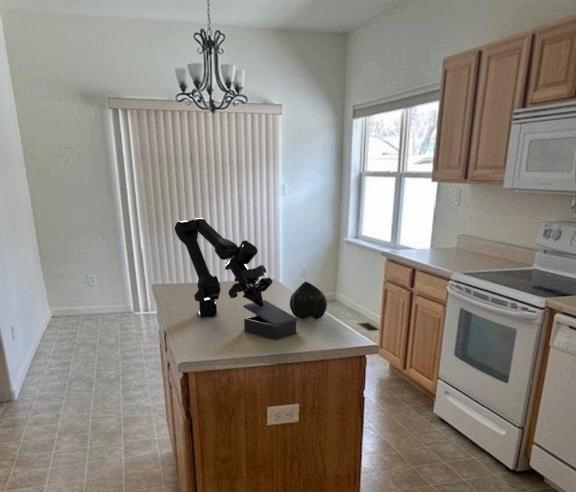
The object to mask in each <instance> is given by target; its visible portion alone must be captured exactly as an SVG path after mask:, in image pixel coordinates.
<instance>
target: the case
mask: <svg viewBox="0 0 576 492" xmlns="http://www.w3.org/2000/svg"><path fill="white" fill-rule="evenodd" d="M265 322H267V321H266V320H264V319H262V318H261V317H259V316H257V315H256V314H254V315H252V316H247V317H244V318H243V330H244V332H247V333H250V334H254V335H257V336H261V337H264V338H268V339H272V340H278V339H281V338H284V337H287V336H288V337H289V336H291V335H294V334H297V319H296V320H295V321H292V322H288V323H285V324H281V325H278V326H274V325H270V324H266V323H265ZM268 323H269V322H268Z"/></svg>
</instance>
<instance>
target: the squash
mask: <svg viewBox="0 0 576 492" xmlns="http://www.w3.org/2000/svg"><path fill="white" fill-rule="evenodd" d="M327 308H328V300H327V297H326V294H325V293H324V292H323V291H322V290H321V289H319V287H317V286H315V285H314V284H312V283H310V282H309V281H304V282H303V283H301V284H300V285H299V286H298V288H297V289H295V290H294V292H293V293H292V294H291V296H290V300H289V309H290V311H291V313H292V314H293V316H294V317H295V318H298V319H299V320H305V319H309V318H312V319H314V320H319V319H321V318H323V317H324V315H325V313H326V311H327Z"/></svg>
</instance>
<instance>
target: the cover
mask: <svg viewBox="0 0 576 492" xmlns="http://www.w3.org/2000/svg"><path fill="white" fill-rule="evenodd" d="M263 303H264V305H263V306H262V307H260V306H259V305H257V304H256V303H254V302H251V303H247V304H243V308H244V309H246V310H247V311H249V312H251V313H252V314H254V315H257V316H259V317H261V318H262V319H264V320H266V321H267V322H269V323H271V324H272V325H274V326H278V325H281V324H285V323H288V322H292V321H295V320H296V321H297V318H298V317H296V316H295V315H292V314H290V313H288V312H286V310H283V309H281V308H280V307H278V306H276V305H275V304H273V303H271V302H269V301H268V300H266V299H264V300H263Z"/></svg>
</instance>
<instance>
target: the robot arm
mask: <svg viewBox="0 0 576 492" xmlns="http://www.w3.org/2000/svg"><path fill="white" fill-rule="evenodd" d="M174 225H175V226H174V232H175V234H176V237H177V238H178V240H179V241H181V242H182V243H183V244H184V245H185V247H186V250H187V252H188V255H189V257H190V260H191V262H192V265H193V268H194V270H195V273H196V276H197V278H198V280H197V284H196V286H197V289H198V290H197V291H196V293H195V294H194V295H193V296H194V300H195V302H198V306H199V307H198V310H199V311H198V315H199V317H200V318H201V317H202V318H203V317H217V313H218V307H217V306H218V305H217V302H216V300H219V299H220V293H221V289H222V288H221V283H220V282H219V279H218V276H217V275H214V276H213V275H212V274H211V272H210V270H209V268H208V267H209V266H208V265H207V263H206V259H205V257H204V254H203V252H202V250H201V247H200V244H199V242H198V238H199V234H200V235H201V236H202V237H203V238H204V239H205V240H206V241H207V242H208V243H209V244H210V245H211V246H212V247H213V248H214V253H215V254H216V255H217V256H218V258H219V259H220V260H222V261H224V260H225V261H226V260H229V261H228V262H225V267H224V270H226V271H227V270H230V271H231V273H232V274H233V276H234V282H236V283H233V285H232V286H231V287H230V289H228V296H229V297H230V299H236V298H237V297H238V293H241V292H243V295H242V298H243V299H247V300H249V301H251V303H256V304H257V305H259V306H260V307H262V306H263V305H264V303H263V295H262V293H263V292H266V291H267V290H268V289H269V287H270V286H271V285H272V284H273V283H274V281H273V280H272V278H271V277H269V276H268V277H267V276H266V277H264V276H265V274H266V273H267V269H266V267H265V266H264V264H260V265H259V266H256V267H254V268H248V267H247V265H249V264H250V263H251V262H252V260H253V259H254V258H255V257H256V255H257V254H258V249H257V246H256V245H254V244H253V243H251V242H249V241H248V240H246V239H244V240H242V241H241V243H240V245H239V246H238V245H237V244H236V243H235V242H233V241H232V240H230V239H227V238H225V237H223V236H222V235H221V234H220V233H219V232H217V230H215V229H214V227H212V225H210V224H209V223H208V222H207V220H206V219H205V218H203V217H199V218H197V217H196V218H193V219H191V220H181V221H180V220H179V221H177V222H176V223H175V224H174ZM261 277H262V278H261ZM260 278H261V279H260Z"/></svg>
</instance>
